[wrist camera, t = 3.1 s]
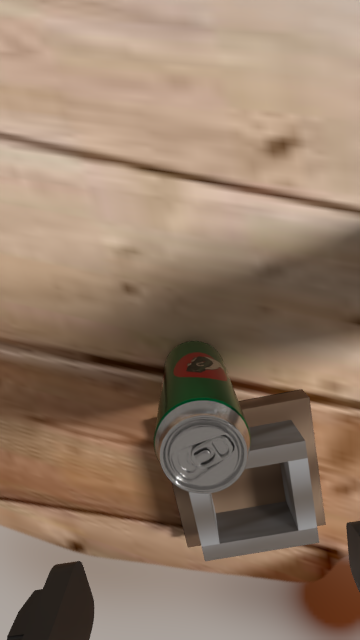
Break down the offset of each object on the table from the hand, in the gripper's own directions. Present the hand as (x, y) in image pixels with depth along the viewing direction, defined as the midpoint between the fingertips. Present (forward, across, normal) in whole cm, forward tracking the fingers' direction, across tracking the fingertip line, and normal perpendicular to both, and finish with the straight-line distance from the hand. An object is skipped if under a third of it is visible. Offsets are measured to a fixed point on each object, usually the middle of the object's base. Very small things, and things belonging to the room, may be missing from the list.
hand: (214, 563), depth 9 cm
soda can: (+18, 0, +1) cm, 18 cm away
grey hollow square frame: (+18, -3, +11) cm, 21 cm away
